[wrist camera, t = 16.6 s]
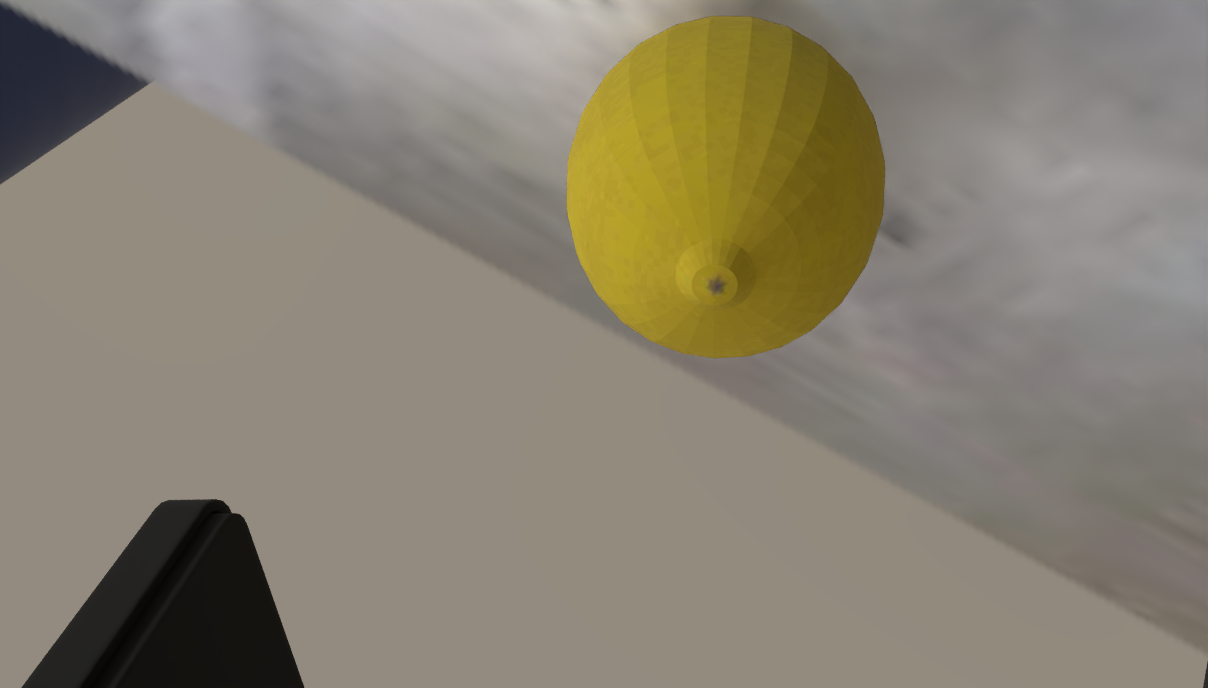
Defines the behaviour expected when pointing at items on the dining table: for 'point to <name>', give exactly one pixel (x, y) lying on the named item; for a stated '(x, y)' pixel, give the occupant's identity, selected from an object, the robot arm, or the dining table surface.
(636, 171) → the lemon
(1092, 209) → the dining table surface
